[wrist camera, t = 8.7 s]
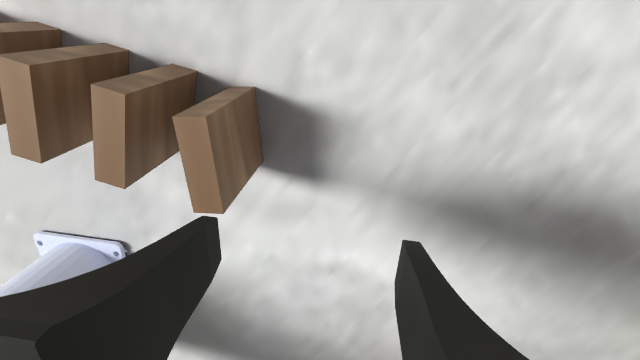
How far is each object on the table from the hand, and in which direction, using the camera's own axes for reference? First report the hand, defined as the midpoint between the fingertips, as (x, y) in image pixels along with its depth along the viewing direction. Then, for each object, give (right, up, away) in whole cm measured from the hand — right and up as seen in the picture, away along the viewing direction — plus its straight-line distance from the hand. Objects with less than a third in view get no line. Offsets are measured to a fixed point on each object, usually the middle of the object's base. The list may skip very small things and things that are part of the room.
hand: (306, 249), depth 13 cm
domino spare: (-4, +6, +9) cm, 12 cm away
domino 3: (-13, +9, +9) cm, 18 cm away
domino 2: (-9, +8, +9) cm, 15 cm away
